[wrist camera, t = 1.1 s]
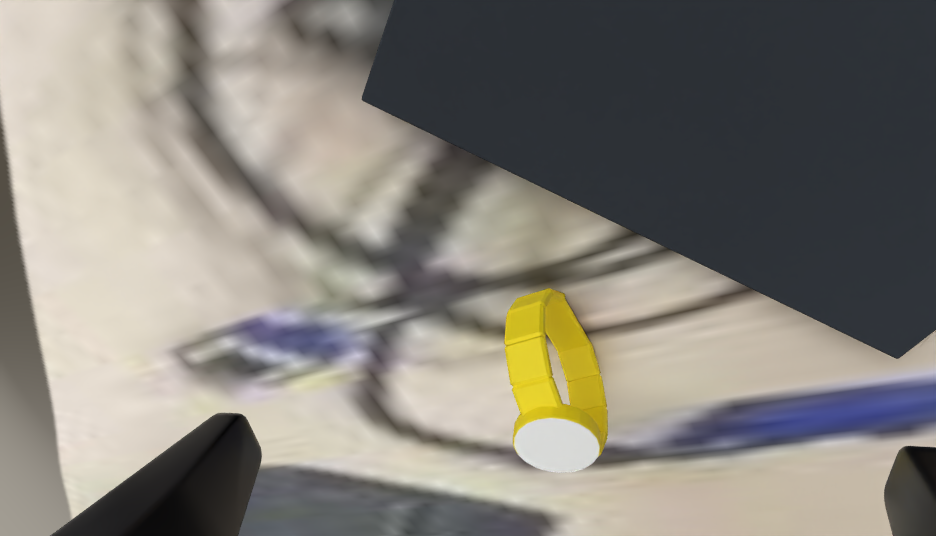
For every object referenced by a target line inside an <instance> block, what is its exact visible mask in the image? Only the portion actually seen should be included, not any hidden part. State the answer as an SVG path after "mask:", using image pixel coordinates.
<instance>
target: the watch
mask: <svg viewBox="0 0 936 536" xmlns="http://www.w3.org/2000/svg"><path fill="white" fill-rule="evenodd" d="M564 297H566V296H565V294H564V293H561V292H559V291H556V290H553V289H550V288H548V289H545V290H542V291H539V292H536V293H532V294H529V295H526V296H523V297H520V298H517V299H516V301H515V302H514V303H513V305H512V306H511V308H510V309H509V311H508V313H507V316H506V329H505V342H504V344H505V345H506V347H505V353H506V359H507V365H508V371H509V377H510V384H511V385H512V386H513V389H512V391H513V394H514V397H515V399H516V402H517V405H518V408H519V410H520V413H521V414H520V415H519V417H518V418H517V420H516V422H515V426H514V434H513V446H514V448H515V450H516V452H517V454H518V455H519V456H520V457H521V458H522V459H523V460H524V461H525V462H527V463H529V464H530V465H532V466H534V467H536V468H539V469H542V470H545V471H549V472H558V473H565V472H574V471H578V470H581V469H584V468H586V467H587V466H589V465H591V464H592V463H593V462H594V461H595V460H596V458H597V457H599V456H600V455H601V453H602V451H603V448H604V445H605V443H606V440H607V436H608V419H607V409H606V407H607V404H606V398H605V393H604V387H603V382H602V377H601V376H600V373H601V372H600V369H599V366H598V363H597V359H596V356H595V353H594V350H593V347H592V343H591V342H590V341H589V339H588V337H587V336H586V334H585V332H584V330H583V329H582V327H581V325H580V324H579V322H578V320H577V318H576V317H575V315H574V313H573V312H572V310H571V308H570V306H569V305H568V303H567V301H566V300H565V298H564ZM545 334H547V335H548V337H549V339H550V340H551V342H552V343H553V345H554V347H555V348H556V350H557V351H558V355H559V358H560V361H561V365H562V368H563V371H564V375H565V378H566V381H567V382H568V383H567V387H568V393H569V400H570V405H567V404H563V403H562V400H561V397H560V395H559V392H558V389H557V386H556V383H555V381H554V378H553V377H552V376H553V374H552V368H551V363H550V358H549V353H548V348H547V343H546V338H545Z"/></svg>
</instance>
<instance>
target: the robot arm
mask: <svg viewBox="0 0 936 536" xmlns="http://www.w3.org/2000/svg"><path fill="white" fill-rule="evenodd" d="M261 457H262V453H261V447H260V445H259V443H258V441H257V439H256V437H255V435H254V433H253V430H252V428H251V426H250V424H249V422H248V420H247V419H246V417H245V416H243V415H242V414H238V413H218V414H215V415H214V416H212V417H210V418H209V419H208V420H206V421H205V422H204V423H202V424H201V425H200V426H198V427H197V428H196V429H194V430H193V431H191V432H190V433H189V434H187V435H186V436H185V437H183V438H182V439H181V440H179V441H178V442H177V443H175V444H174V445H173V446H171V447H170V448H168V449H167V450H166V451H164V452H163V453H162V454H160V455H159V456H158V457H156V458H155V459H154V460H152V461H151V462H149V463H148V464H147V465H145V466H144V467H143V468H141V469H140V470H139V471H137V472H136V473H135V474H133V475H132V476H130V477H129V478H128V479H126V480H125V481H124V482H122V483H121V484H120V485H118V486H117V487H116V488H114V489H113V490H112V491H110V492H109V493H107V494H106V495H105V496H103V497H102V498H101V499H99V500H98V501H97V502H95V503H94V504H93V505H91V506H90V507H88V508H87V509H86V510H84V511H83V512H82V513H80V514H79V515H78V516H76V517H75V518H74V519H72V520H71V521H70V522H68V523H67V524H66V525H64V526H63V527H61V528H60V529H59V530H57V531H56V532H55V533H53V534H52V535H51V536H238V534H239V531H240V527H241V524H242V521H243V518H244V515H245V512H246V508H247V505H248V502H249V499H250V496H251V493H252V489H253V486H254V483H255V480H256V477H257V473H258V470H259V467H260V463H261ZM884 501H885V507H886V511H887V515H888V519H889V523H890V526H891V530H892V534H893V536H936V448H935V447H918V446H905V447H903V448H902V449H900V450H899V452H898V454H897V456H896V459H895V462H894V464H893V467H892V469H891V472H890V475H889V477H888V480H887V482H886V485H885V490H884Z"/></svg>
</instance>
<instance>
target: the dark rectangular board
mask: <svg viewBox="0 0 936 536" xmlns="http://www.w3.org/2000/svg"><path fill="white" fill-rule="evenodd" d="M362 100H363V101H364V102H366V103H368V104H370V105H373V106H375V107H377V108H379V109H381V110H383V111H385V112H387V113H389V114H391V115H393V116H395V117H397V118H399V119H402V120H404V121H406V122H408V123H410V124H412V125H414V126H416V127H418V128H420V129H422V130H424V131H426V132H428V133H431V134H433V135H435V136H437V137H439V138H441V139H443V140H445V141H447V142H449V143H451V144H453V145H455V146H457V147H459V148H462V149H464V150H466V151H468V152H470V153H472V154H474V155H476V156H478V157H480V158H482V159H484V160H486V161H488V162H491V163H493V164H495V165H497V166H499V167H501V168H503V169H505V170H507V171H509V172H511V173H513V174H515V175H517V176H519V177H522V178H524V179H526V180H528V181H530V182H532V183H534V184H536V185H538V186H540V187H542V188H544V189H546V190H548V191H551V192H553V193H555V194H557V195H559V196H561V197H563V198H565V199H567V200H569V201H571V202H573V203H575V204H577V205H580V206H582V207H584V208H586V209H588V210H590V211H592V212H594V213H596V214H598V215H600V216H602V217H604V218H606V219H608V220H611V221H613V222H615V223H617V224H619V225H621V226H623V227H625V228H627V229H629V230H631V231H633V232H635V233H637V234H640V235H642V236H644V237H646V238H648V239H650V240H652V241H654V242H656V243H658V244H660V245H662V246H664V247H666V248H668V249H671V250H673V251H675V252H677V253H679V254H681V255H683V256H685V257H687V258H689V259H691V260H693V261H695V262H697V263H700V264H702V265H704V266H706V267H708V268H710V269H712V270H714V271H716V272H718V273H720V274H722V275H724V276H726V277H729V278H731V279H733V280H735V281H737V282H739V283H741V284H743V285H745V286H747V287H749V288H751V289H753V290H755V291H757V292H760V293H762V294H764V295H766V296H768V297H770V298H772V299H774V300H776V301H778V302H780V303H782V304H784V305H786V306H789V307H791V308H793V309H795V310H797V311H799V312H801V313H803V314H805V315H807V316H809V317H811V318H813V319H815V320H817V321H820V322H822V323H824V324H826V325H828V326H830V327H832V328H834V329H836V330H838V331H840V332H842V333H844V334H846V335H849V336H851V337H853V338H855V339H857V340H859V341H861V342H863V343H865V344H867V345H869V346H871V347H873V348H875V349H878V350H880V351H882V352H884V353H886V354H888V355H890V356H892V357H894V358H896V359H898V358H900V357H901V356H903V355H904V354H905V353H906V352H908V351H909V350H910V349H912V348H913V347H914V346H915V345H917V344H918V343H919V342H921V341H922V340H923V339H924V338H926V337H927V336H928V335H930V334H931V333H932V332H934V331H935V330H936V0H394V2H393V5H392V8H391V11H390V14H389V17H388V20H387V23H386V26H385V29H384V32H383V35H382V38H381V41H380V44H379V47H378V50H377V53H376V56H375V59H374V62H373V65H372V68H371V71H370V74H369V77H368V80H367V83H366V86H365V89H364V92H363V96H362Z"/></svg>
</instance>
